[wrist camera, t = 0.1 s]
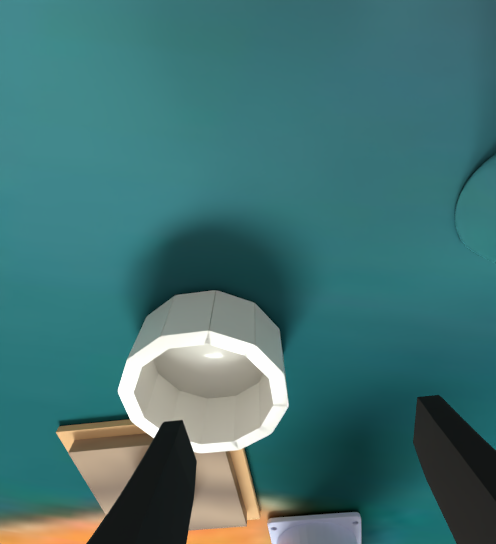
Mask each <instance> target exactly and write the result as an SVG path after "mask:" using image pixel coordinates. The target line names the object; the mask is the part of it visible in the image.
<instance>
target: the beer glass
mask: <svg viewBox="0 0 496 544" xmlns="http://www.w3.org/2000/svg"><path fill="white" fill-rule="evenodd" d="M455 226H456V230H457V233H458V235H459V237H460V239H461V241H462V242H463V244H464V245H465V246H466V247H467V248H468V249H469V250H470V251H472V252H473V253H475V254H476V255H478V256H480V257H482V258H484V259H487V260H489V261H491V262H494V263H496V154H495V155H493V156H492V157H491V158H489V159H488V160H487V161H485V162H484V163H483V164H482V165H481V166H480V167H479V168H478V169H477V170H476V171H475V172H474V173H473V175H472V176H471V177H470V178H469V180H468V181H467V183H466V184H465V186H464V188H463V190H462V192H461V194H460V196H459V199H458V202H457V205H456V210H455Z"/></svg>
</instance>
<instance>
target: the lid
mask: <svg viewBox="0 0 496 544" xmlns="http://www.w3.org/2000/svg"><path fill="white" fill-rule="evenodd" d="M153 439H154V438H153V437H152V436H150V435H149V434H147V433H143V434H133V435H122V436H112V437H101V438H91V439H80V440H74V442H73V444H72V446H71V448H70V450H69V452H68V453H69V455H70V456H71V458H72V460H73V461H74V463H75V465H76V466H77V468H78V470H79V471H80V473H81V474H82V476H83V478H84V479H85V481H86V483H87V484H88V486H89V488H90V489H91V491H92V493H93V494H94V496H95V498H96V499H97V501H98V502H99V504H100V506H101V507H102V509H103V511H104V512H105V514H106V515H107V514H108V512H109V511H110V509H111V508H112V506H113V505H114V503H115V502H116V500H117V499H118V497H119V496H120V494H121V492H122V491H123V489H124V488H125V486H126V484H127V483H128V481H129V480H130V478H131V476H132V475H133V473H134V471H135V470H136V468H137V467H138V465H139V463H140V461H141V460H142V458H143V456H144V455H145V453H146V451H147V449H148V448H149V446H150V444H151V442H152V441H153ZM194 454H195V457H196V460H197V466H196V481H195V494H194V501H193V507H192V513H191V519H190V524H189V530H201V529H215V528H229V527H243V526H247V512H246V508H245V505H244V501H243V497H242V494H241V490H240V487H239V483H238V479H237V476H236V472H235V469H234V465H233V461H232V458H231V454H230V451H223V452H212V453H196V452H194Z"/></svg>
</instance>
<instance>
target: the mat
mask: <svg viewBox="0 0 496 544" xmlns="http://www.w3.org/2000/svg"><path fill="white" fill-rule="evenodd" d="M56 433H57V435H58V436H59V438H60V440H61V441H62V443H63V445H64V446H65V448H66V450H67V451H68V452H69V450H70V448H71V446H72V444H73V442H74V440H80V439H91V438H101V437H112V436H122V435H133V434H143V433H146V432H145V431H143V430H142V429H141V428H139V427H138V426H136V425H135V424H134V423H132V421H131V420H130V419H128V420H118V421H108V422H98V423H87V424H77V425H67V426H59V428H58V430H57V431H56ZM230 454H231V458H232V461H233V465H234V469H235V472H236V476H237V479H238V483H239V487H240V490H241V494H242V497H243V501H244V505H245V508H246V512H247V520H252V519H260V510H259V506H258V502H257V498H256V494H255V490H254V486H253V482H252V478H251V474H250V470H249V466H248V461H247V457H246V453H245V449H244V448H242V449H241V450H240V449H239V450H234V451H230Z"/></svg>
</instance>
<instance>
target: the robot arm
mask: <svg viewBox="0 0 496 544" xmlns="http://www.w3.org/2000/svg"><path fill="white" fill-rule="evenodd" d="M413 443H414V446H415V449H416V452H417V455H418V458H419V461H420V463H421V466H422V469H423V472H424V474H425V477H426V480H427V482H428V484H429V486H430V488H431V490H432V492H433V495H434V497H435V499H436V501H437V503H438V505H439V507H440V509H441V511H442V514H443V516H444V518H445V520H446V522H447V524H448V526H449V528H450V530H451V532H452V535H453V537H454V539H455V541H456V543H457V544H496V450H495V449H494V448H492V447H491V446H490V445H489V444H488V443H487V442H486V441H485V440H484V439H483V438H482V437H481V436H480V435H479V434H478V433H477V432H476V431H475V430H474V429H473V428H472V427H471V426H470V425H469V424H468V423H467V422H466V421H465V420H464V419H462V418H461V417H460V415H459V414H458V413H457V412H456V411H455V410H454V409H453V408H452V407H451V406H450V405H449V404H448V403H447V402H446V401H445V400H444V399H443V398H442V397H440V396H439V395H435V396H425V397H417V407H416V418H415V428H414V439H413ZM196 466H197V460H196V457H195V454H194V451H193V448H192V446H191V443H190V440H189V437H188V434H187V431H186V428H185V425H184V423H183V420H176V421H166V422H163V423H162V424H161V426H160V428H159V430H158V432H157V433H156V435H155V437H154V439H153V441H152V442H151V444H150V446H149V448H148V449H147V451H146V453H145V455H144V456H143V458H142V460H141V461H140V463H139V465H138V467H137V468H136V470H135V471H134V473H133V475H132V476H131V478H130V480H129V481H128V483H127V484H126V486H125V488H124V489H123V491H122V492H121V494H120V496H119V497H118V499H117V500H116V502H115V503H114V505H113V506H112V508H111V509H110V511H109V512H108V514H107V515H106V517H105V518H104V520H103V521H102V522H101V524H100V525H99V527H98V528H97V530H96V531H95V533H94V534H93V535H92V537H91V538H90V539H89V541H88V542H87V544H186V541H187V535H188V530H189V524H190V519H191V513H192V507H193V501H194V494H195V481H196ZM267 523H268V529H269V534H270V538H271V542H272V544H361V516H360V514H359V513H358V512H346V513H332V514H318V515H305V516H291V517H277V518H270V519H268V521H267Z"/></svg>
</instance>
